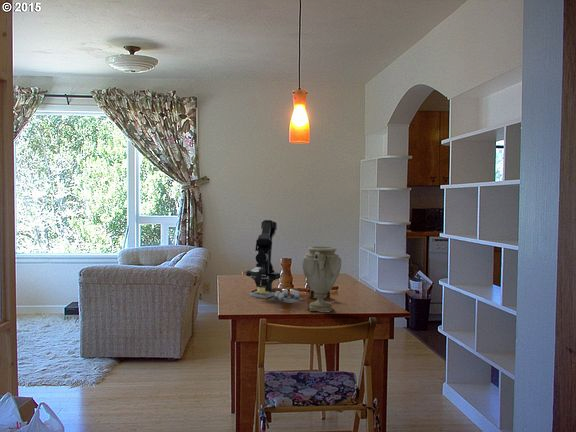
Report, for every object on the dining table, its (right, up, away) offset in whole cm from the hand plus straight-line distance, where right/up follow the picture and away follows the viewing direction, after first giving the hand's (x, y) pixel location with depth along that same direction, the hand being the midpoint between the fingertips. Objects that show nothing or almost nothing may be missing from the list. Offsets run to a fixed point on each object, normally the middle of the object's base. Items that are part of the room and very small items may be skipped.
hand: (262, 290), depth 294 cm
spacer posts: (+13, -4, -8) cm, 15 cm away
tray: (0, -3, 0) cm, 3 cm away
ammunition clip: (+30, -4, -3) cm, 30 cm away
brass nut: (0, -1, 0) cm, 1 cm away
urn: (+29, -6, -27) cm, 40 cm away
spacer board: (+13, -4, -8) cm, 15 cm away
